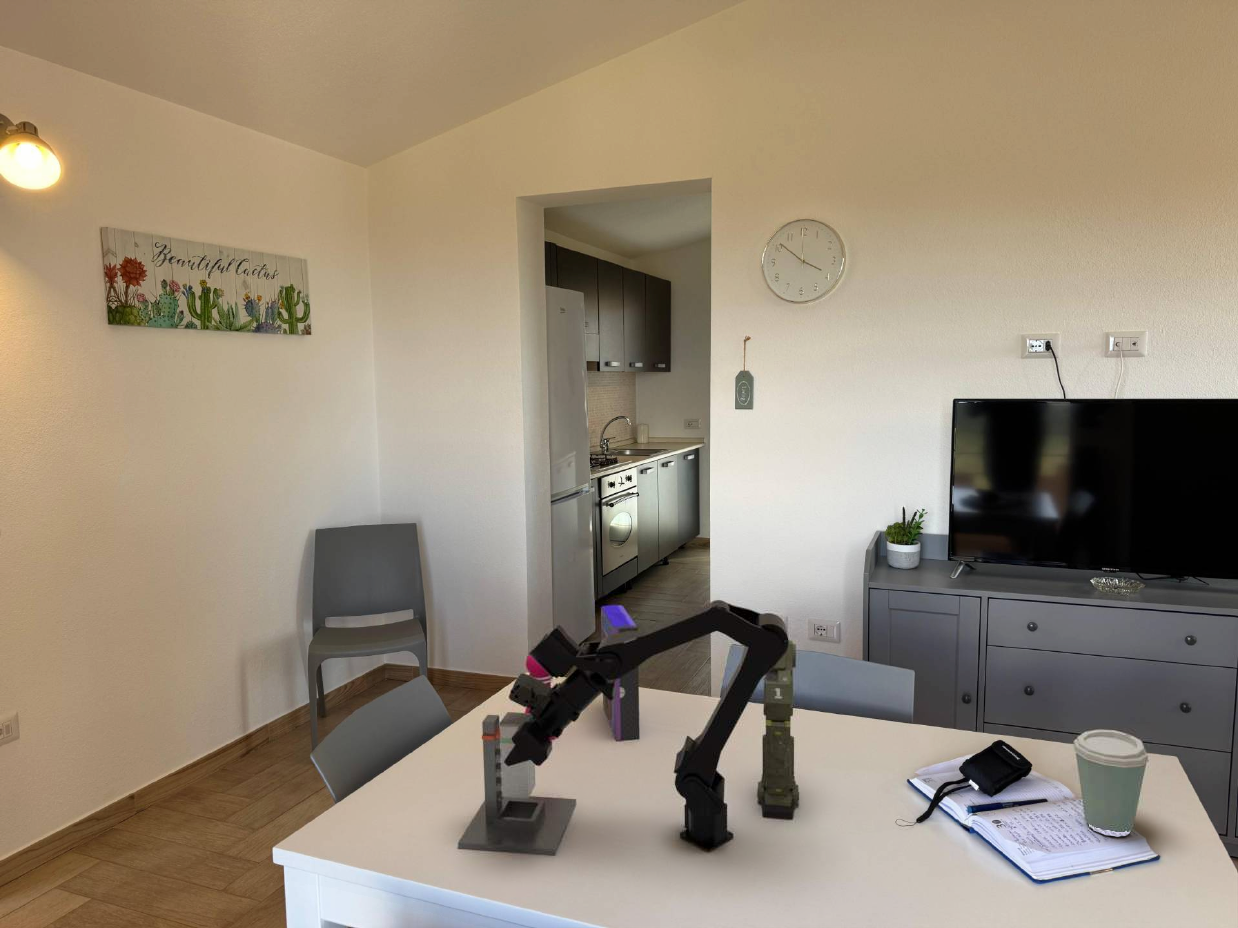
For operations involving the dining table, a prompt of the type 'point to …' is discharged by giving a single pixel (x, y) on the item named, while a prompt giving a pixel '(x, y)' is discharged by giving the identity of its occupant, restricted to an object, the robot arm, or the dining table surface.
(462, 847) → the grey square stand
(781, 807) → the mechanical leg
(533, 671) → the pepper mill
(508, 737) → the jack column
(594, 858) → the dining table surface
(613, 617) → the cereal box
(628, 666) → the robot arm
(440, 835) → the dining table surface
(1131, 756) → the disposable coffee cup
